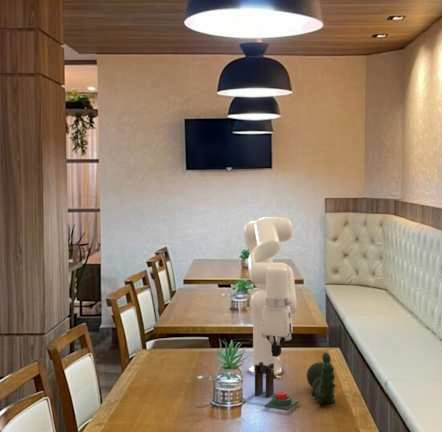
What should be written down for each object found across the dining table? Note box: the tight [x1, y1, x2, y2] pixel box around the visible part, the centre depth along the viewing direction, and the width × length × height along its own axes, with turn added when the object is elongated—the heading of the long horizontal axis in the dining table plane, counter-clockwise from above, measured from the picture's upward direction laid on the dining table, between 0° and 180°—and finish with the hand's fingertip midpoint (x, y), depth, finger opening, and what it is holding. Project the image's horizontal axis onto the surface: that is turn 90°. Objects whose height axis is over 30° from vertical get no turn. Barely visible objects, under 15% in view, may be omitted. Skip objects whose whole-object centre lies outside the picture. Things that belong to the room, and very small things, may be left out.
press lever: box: [259, 365, 283, 381], centre depth 227 cm, size 12×5×2 cm, turn 155°
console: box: [264, 394, 299, 411], centre depth 214 cm, size 9×8×4 cm
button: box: [276, 391, 288, 400], centre depth 214 cm, size 3×3×2 cm
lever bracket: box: [254, 362, 275, 399], centre depth 223 cm, size 12×9×12 cm
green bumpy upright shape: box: [306, 352, 336, 406], centre depth 223 cm, size 9×19×25 cm
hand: (276, 355), depth 227 cm, fingers closed
